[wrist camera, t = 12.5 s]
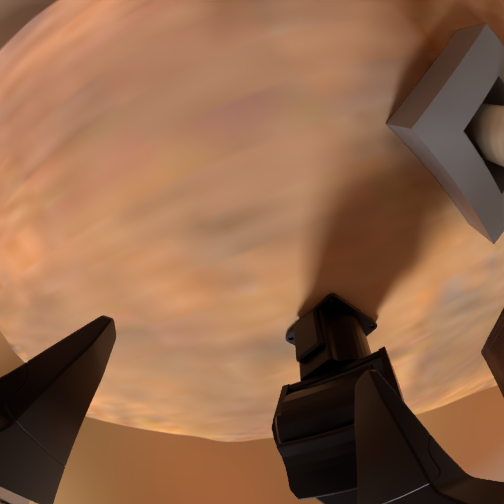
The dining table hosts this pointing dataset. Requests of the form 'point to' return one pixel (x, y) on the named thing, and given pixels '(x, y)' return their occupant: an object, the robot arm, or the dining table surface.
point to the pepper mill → (496, 352)
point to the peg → (488, 132)
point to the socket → (458, 124)
